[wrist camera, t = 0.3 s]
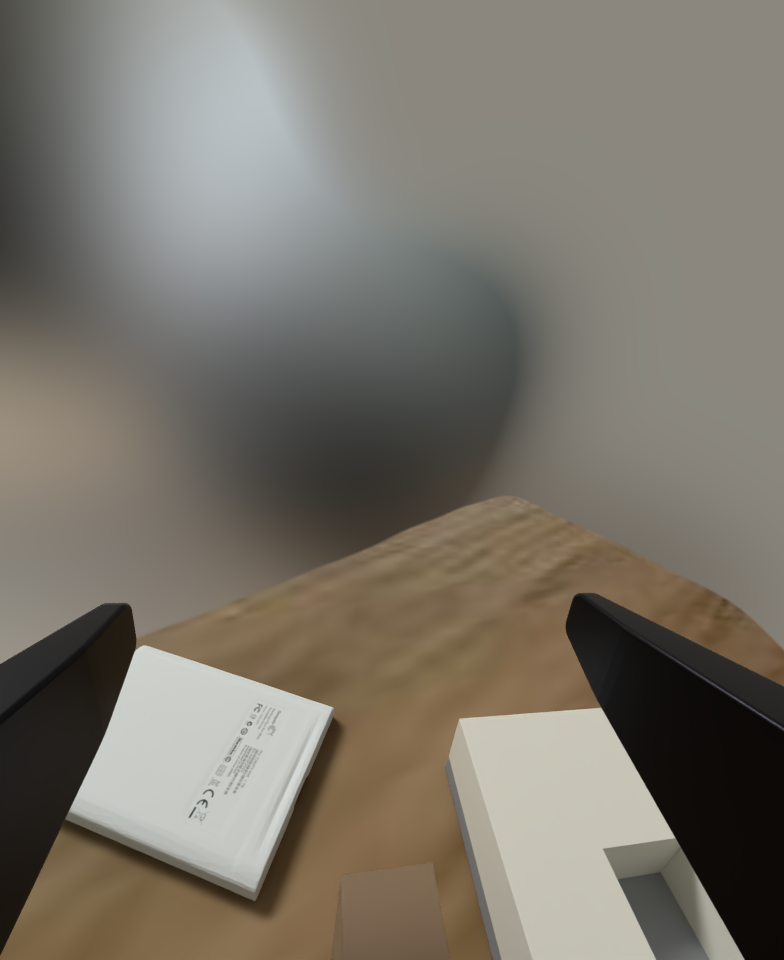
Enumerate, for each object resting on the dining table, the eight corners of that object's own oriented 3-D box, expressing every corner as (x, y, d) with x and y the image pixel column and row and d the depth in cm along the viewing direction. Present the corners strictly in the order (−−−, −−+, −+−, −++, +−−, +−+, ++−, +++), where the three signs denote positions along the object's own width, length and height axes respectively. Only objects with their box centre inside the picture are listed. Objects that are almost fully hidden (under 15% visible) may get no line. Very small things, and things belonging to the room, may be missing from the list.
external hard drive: (148, 660, 26) (333, 722, 24) (9, 801, 19) (255, 909, 17) (144, 641, 26) (334, 703, 23) (-2, 780, 18) (254, 890, 16)
